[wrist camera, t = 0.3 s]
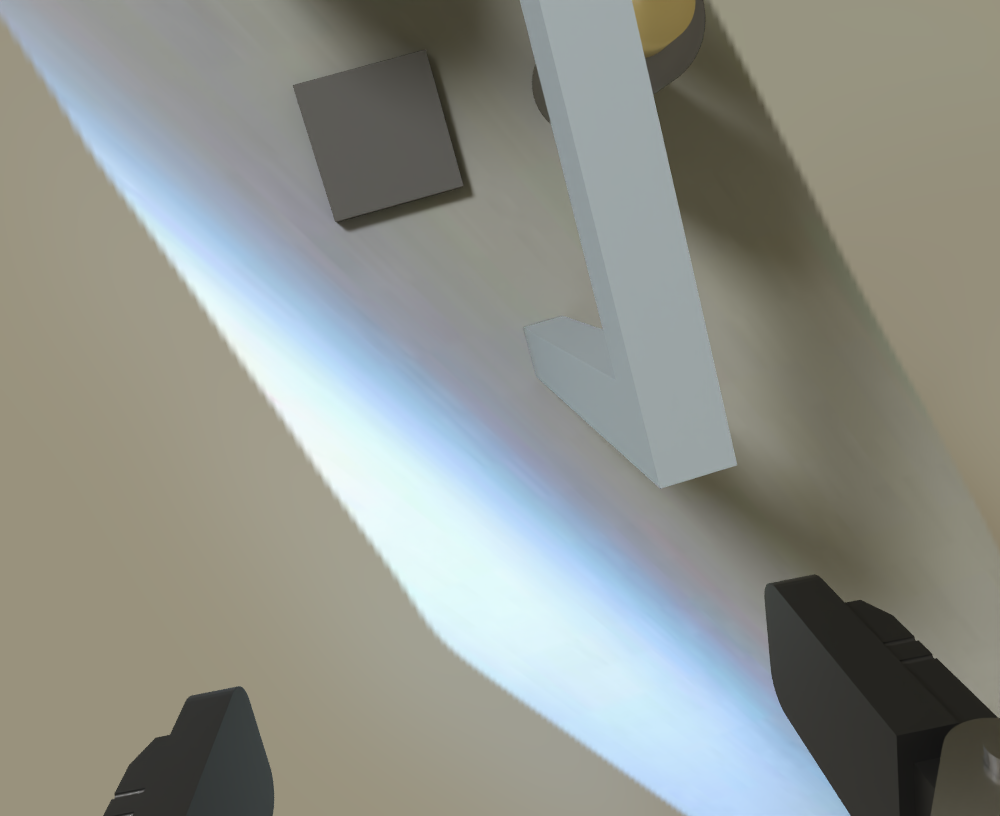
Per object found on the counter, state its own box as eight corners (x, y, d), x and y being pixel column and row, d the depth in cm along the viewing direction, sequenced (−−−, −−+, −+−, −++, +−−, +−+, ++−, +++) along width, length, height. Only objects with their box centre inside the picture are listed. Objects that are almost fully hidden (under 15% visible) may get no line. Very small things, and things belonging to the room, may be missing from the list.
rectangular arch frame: (384, -184, 35) (350, -761, 15) (429, -196, 35) (454, -783, 15) (536, 377, 40) (660, 488, 20) (576, 365, 40) (737, 465, 20)
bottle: (520, 45, 37) (572, -56, 25) (615, 19, 37) (710, -92, 25) (546, 146, 38) (607, 93, 26) (638, 120, 38) (740, 57, 26)
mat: (294, 88, 36) (292, 85, 36) (425, 52, 37) (425, 49, 36) (336, 222, 37) (335, 221, 37) (462, 187, 38) (463, 185, 37)
